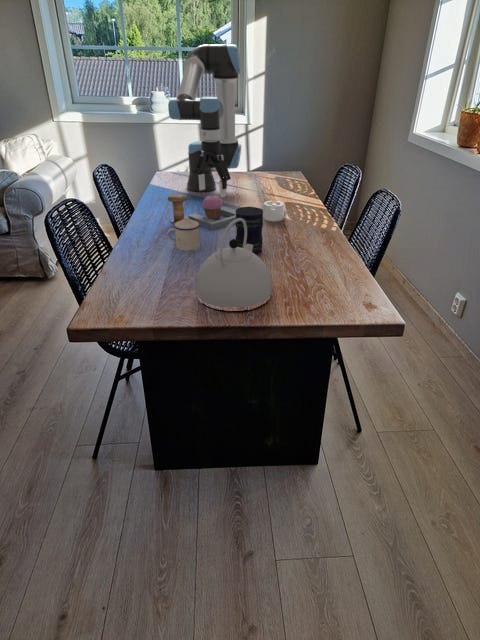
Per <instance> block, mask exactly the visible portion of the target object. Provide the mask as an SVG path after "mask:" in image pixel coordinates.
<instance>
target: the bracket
mask: <svg viewBox="0 0 480 640" xmlns="http://www.w3.org/2000/svg"><path fill="white" fill-rule="evenodd" d="M285 210H286V205H285V203H284V202H283V201H279V200H276V202H273V200H268V201H267V200H266V201H264V202H263V220H265V221H268V222H280V221H283V220H284V217H285V212H286V211H285Z"/></svg>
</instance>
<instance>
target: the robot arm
mask: <svg viewBox="0 0 480 640" xmlns="http://www.w3.org/2000/svg"><path fill="white" fill-rule="evenodd" d="M183 70H184V71H183V75H182V79H181V82H180V85H179V89H178V93H177V97H176V98H174V99H170V100H169V101H168V104H167V105H168V108H167V109H168V116H169V117H170V119H171V120H178V121H200V132H201V133H200V136H201V137H200V138H201V140H198V141H194V142H191V143H189V144H188V147H187V148H188V152H187V155H188V165H189V166H188V167H189V169H188V171H189V175H188V179H187V182H186V189H187V190H189V191H192V192H197V193H198V192H210V191H214V190H216V188H217V186H216V181H215V178H214V175H213V169H215V170H216V172H217V174H218V176H219V179H220V180H219V198H224V197H227V188H228V181H229V180H231V175H230V171H229V169H237V168H238V167H239V165H240V161H241V153H242V144H240V143H239V139H238V138H237V137H236V94H235V93H236V88H235V87H236V85H235V84H236V81H237V80H238V79H239V75H241V74H242V60H241V54H240V50H239V47H238V46H237V45H236V44H229V43H226V44H225V43H222V44H221V43H220V44H219V43H217V44H207V43H206V44H202V45H198V46H197V47H196V48H194V49H192V51H190V52H189V54H188V55H187V56H186V58H185V59H184V62H183ZM206 74H207V75H211V74H212V79H213V80H214V82H215V83H216V96H203V97H200V99H196V98H197V95H198V94H197V93H198V90H199V86H200V83H201V78H202V77H203V76H204V75H206Z"/></svg>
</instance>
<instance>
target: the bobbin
mask: <svg viewBox="0 0 480 640" xmlns="http://www.w3.org/2000/svg"><path fill="white" fill-rule="evenodd" d="M187 200H188V196H187V195H185V194H181V193H178V194H170V195H168V196H167V201H168V202H171V203H172V210H173V211H172V212H173V213H172V214H173V218H174V219H173V218H172V219H173V220H174V221H173V222H172V223H171V224H173V223H176V222H178V221H181V220H183V219H184V217H185V212H184V211H185V210H184V202H185V201H187Z"/></svg>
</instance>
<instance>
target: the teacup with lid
mask: <svg viewBox="0 0 480 640" xmlns="http://www.w3.org/2000/svg"><path fill="white" fill-rule="evenodd" d="M173 226H174V228H173V227H172V228H170V229H168V230H167V232H166V236H167V238H168V239H169V240H170V242H174V243H176V249H177V248H179V249H182V250H194V251H196V250H195V249H197V250H199V249H200V248H201V247H200V246H201V245H200V244H201V243H200V242H201V241H200V240H201V239H200V224H199V223H198V222H197V221H194V220H191V219H189V217H188V215H187V216H184V219H183V220H181V221H178V222H176V223H175V224H173ZM170 232H175V238H172V237H171V236H170ZM198 248H199V249H198ZM179 249H178V250H179Z"/></svg>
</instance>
